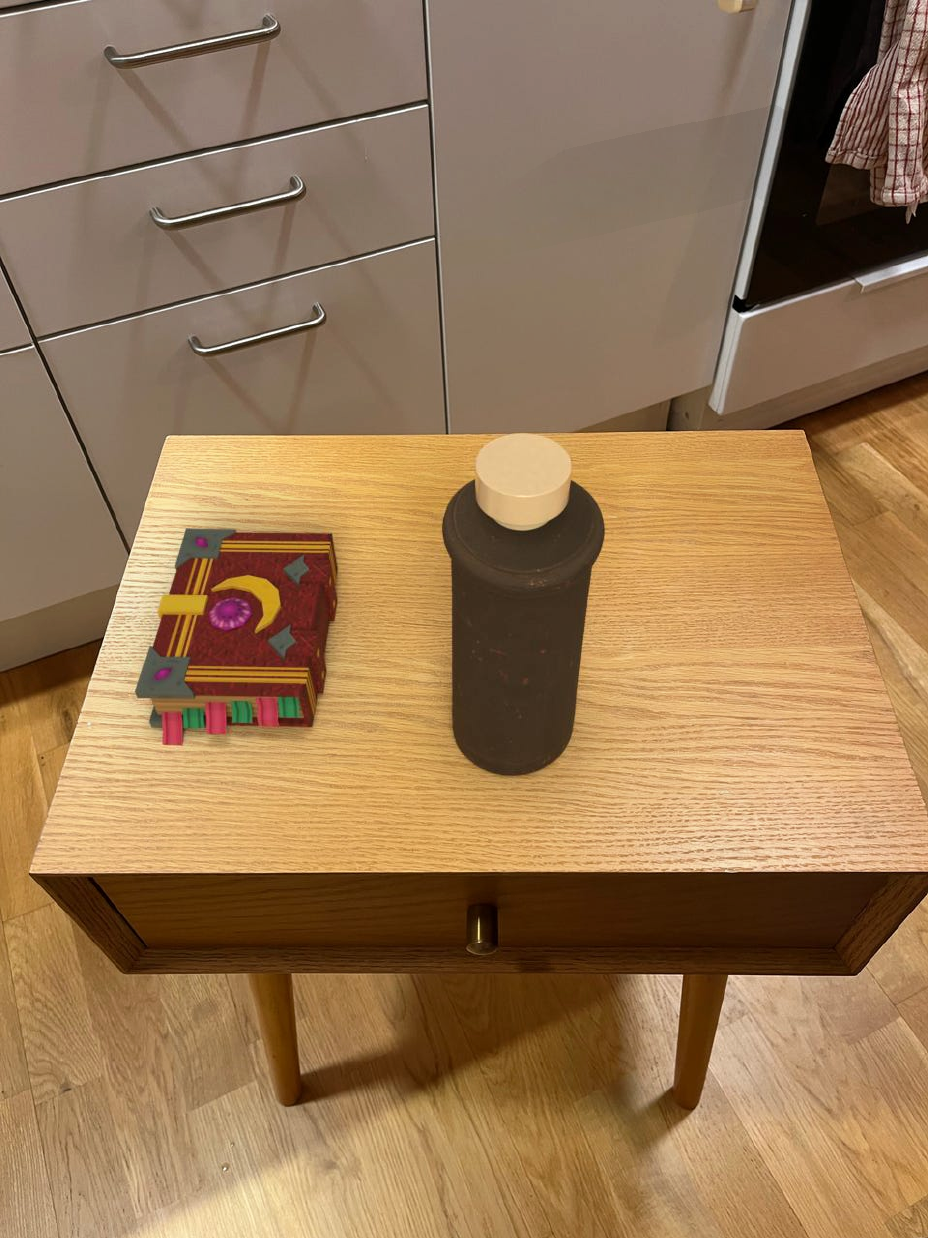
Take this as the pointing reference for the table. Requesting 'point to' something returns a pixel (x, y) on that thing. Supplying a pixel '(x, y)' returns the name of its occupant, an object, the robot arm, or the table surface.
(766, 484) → the table surface
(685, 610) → the table surface
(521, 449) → the beige cylinder disc
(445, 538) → the container
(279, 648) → the decorative book
